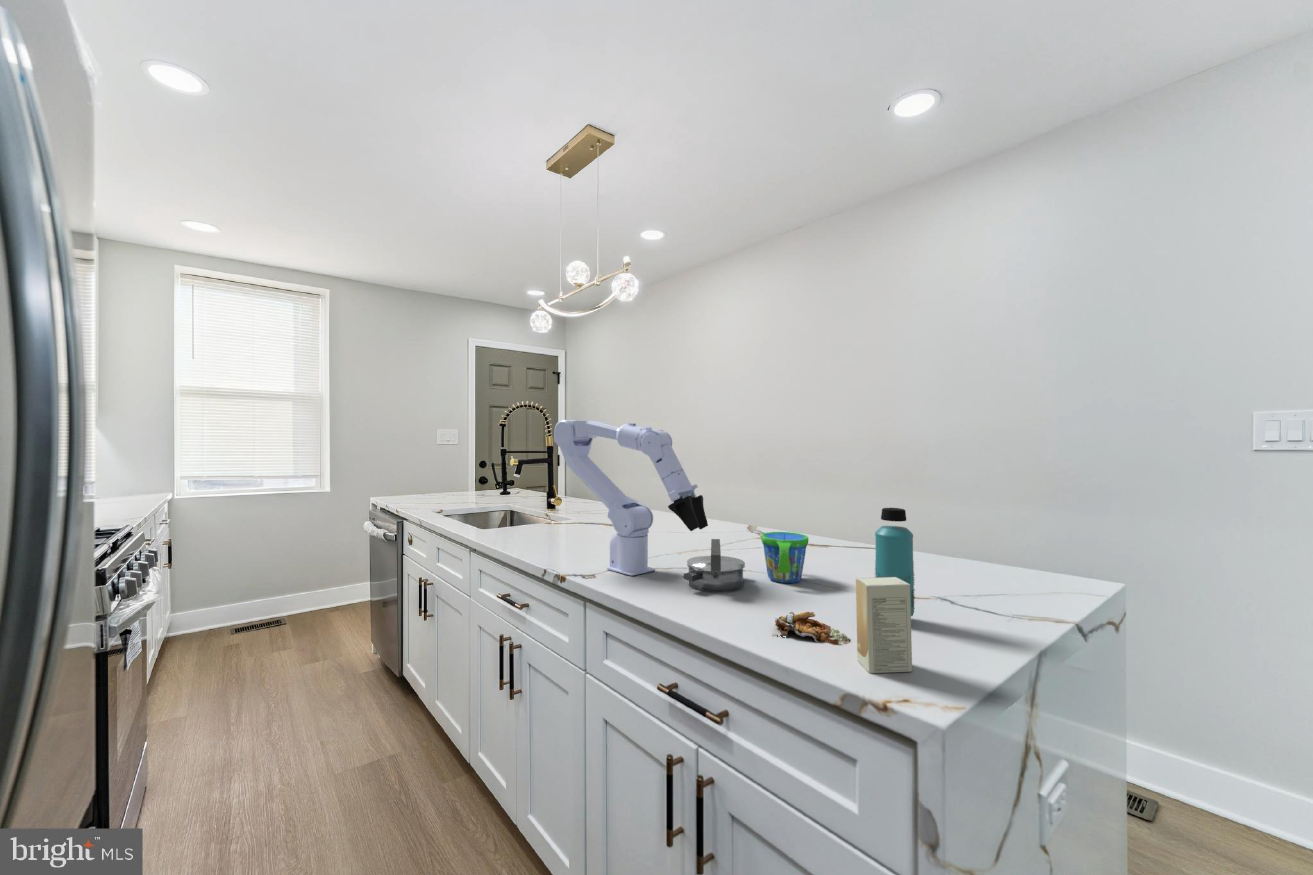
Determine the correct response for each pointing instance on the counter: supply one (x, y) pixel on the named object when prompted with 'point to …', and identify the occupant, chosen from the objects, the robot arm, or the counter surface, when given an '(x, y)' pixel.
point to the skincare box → (883, 624)
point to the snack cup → (784, 555)
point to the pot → (715, 580)
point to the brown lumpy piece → (809, 628)
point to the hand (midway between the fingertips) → (699, 528)
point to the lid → (715, 561)
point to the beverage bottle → (895, 550)
